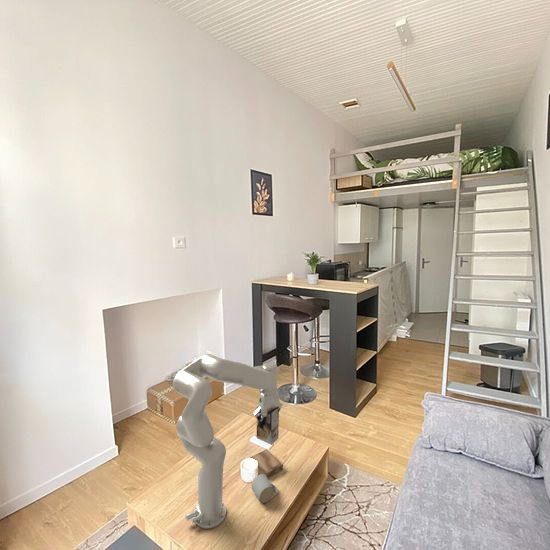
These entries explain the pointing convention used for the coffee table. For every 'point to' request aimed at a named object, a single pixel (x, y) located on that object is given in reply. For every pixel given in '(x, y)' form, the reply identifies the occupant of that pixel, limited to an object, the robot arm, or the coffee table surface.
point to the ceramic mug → (263, 488)
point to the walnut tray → (268, 463)
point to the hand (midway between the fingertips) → (267, 424)
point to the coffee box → (269, 427)
